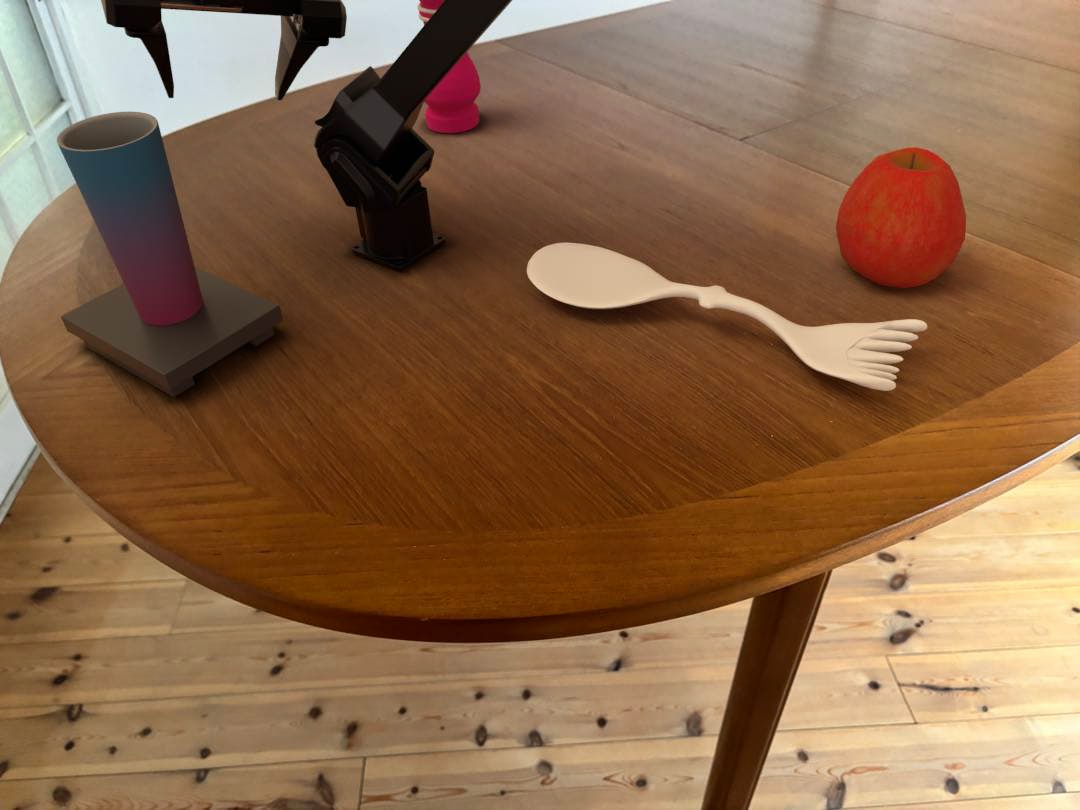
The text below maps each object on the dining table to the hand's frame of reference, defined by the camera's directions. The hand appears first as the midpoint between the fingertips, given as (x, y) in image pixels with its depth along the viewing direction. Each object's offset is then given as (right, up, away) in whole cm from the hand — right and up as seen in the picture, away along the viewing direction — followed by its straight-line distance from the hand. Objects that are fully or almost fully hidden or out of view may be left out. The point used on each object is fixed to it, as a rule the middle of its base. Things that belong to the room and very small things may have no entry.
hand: (225, 96), depth 81 cm
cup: (-2, -20, -7) cm, 21 cm away
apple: (+58, -15, -1) cm, 60 cm away
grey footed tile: (-2, -22, -5) cm, 23 cm away
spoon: (+41, -21, -7) cm, 47 cm away
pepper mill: (+18, +6, +27) cm, 33 cm away
